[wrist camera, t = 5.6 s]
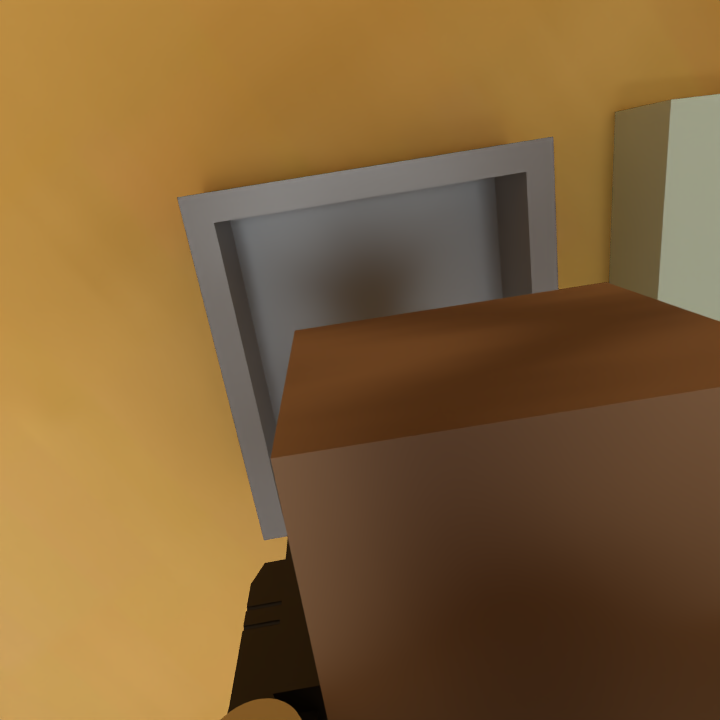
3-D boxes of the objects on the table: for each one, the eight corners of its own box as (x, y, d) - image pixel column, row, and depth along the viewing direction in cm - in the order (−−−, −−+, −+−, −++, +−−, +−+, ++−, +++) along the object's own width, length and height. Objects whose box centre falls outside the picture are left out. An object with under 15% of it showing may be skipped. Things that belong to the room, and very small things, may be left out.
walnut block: (606, 282, 10) (850, 366, 6) (604, 645, 13) (764, 907, 8) (294, 330, 10) (270, 458, 5) (361, 686, 13) (384, 975, 8)
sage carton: (746, 96, 23) (831, 80, 19) (724, 300, 26) (794, 320, 22) (612, 112, 23) (671, 99, 19) (605, 316, 26) (654, 339, 22)
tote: (508, 145, 23) (553, 136, 19) (525, 438, 27) (564, 485, 23) (203, 194, 22) (177, 197, 18) (271, 483, 27) (263, 540, 23)
